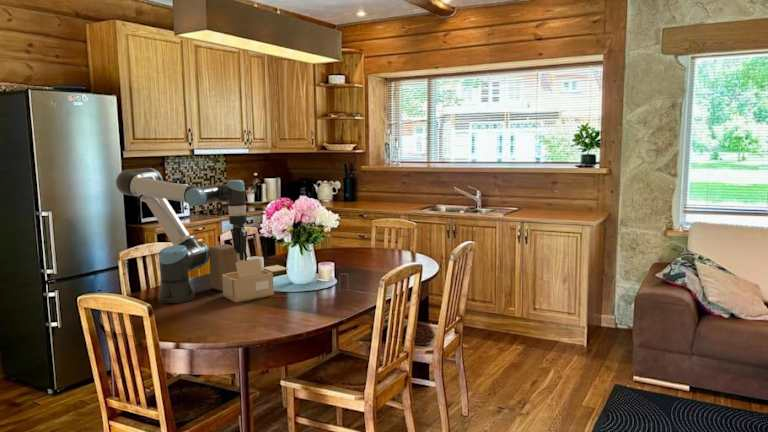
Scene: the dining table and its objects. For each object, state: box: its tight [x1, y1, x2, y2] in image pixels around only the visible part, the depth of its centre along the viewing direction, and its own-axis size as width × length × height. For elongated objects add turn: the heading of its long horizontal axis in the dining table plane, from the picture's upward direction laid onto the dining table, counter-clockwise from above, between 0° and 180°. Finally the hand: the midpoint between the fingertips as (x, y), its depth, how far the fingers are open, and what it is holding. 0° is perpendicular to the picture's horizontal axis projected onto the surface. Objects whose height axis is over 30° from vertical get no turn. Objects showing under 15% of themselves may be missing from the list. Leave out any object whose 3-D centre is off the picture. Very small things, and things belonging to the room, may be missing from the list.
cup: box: [246, 255, 265, 270], centre depth 293 cm, size 8×12×10 cm
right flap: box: [262, 264, 289, 273], centre depth 268 cm, size 8×10×1 cm
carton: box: [222, 269, 275, 303], centre depth 261 cm, size 19×15×10 cm
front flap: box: [235, 259, 263, 278], centre depth 254 cm, size 11×7×1 cm
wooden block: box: [208, 243, 237, 292], centre depth 274 cm, size 10×10×20 cm
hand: (241, 266), depth 262 cm, fingers closed
